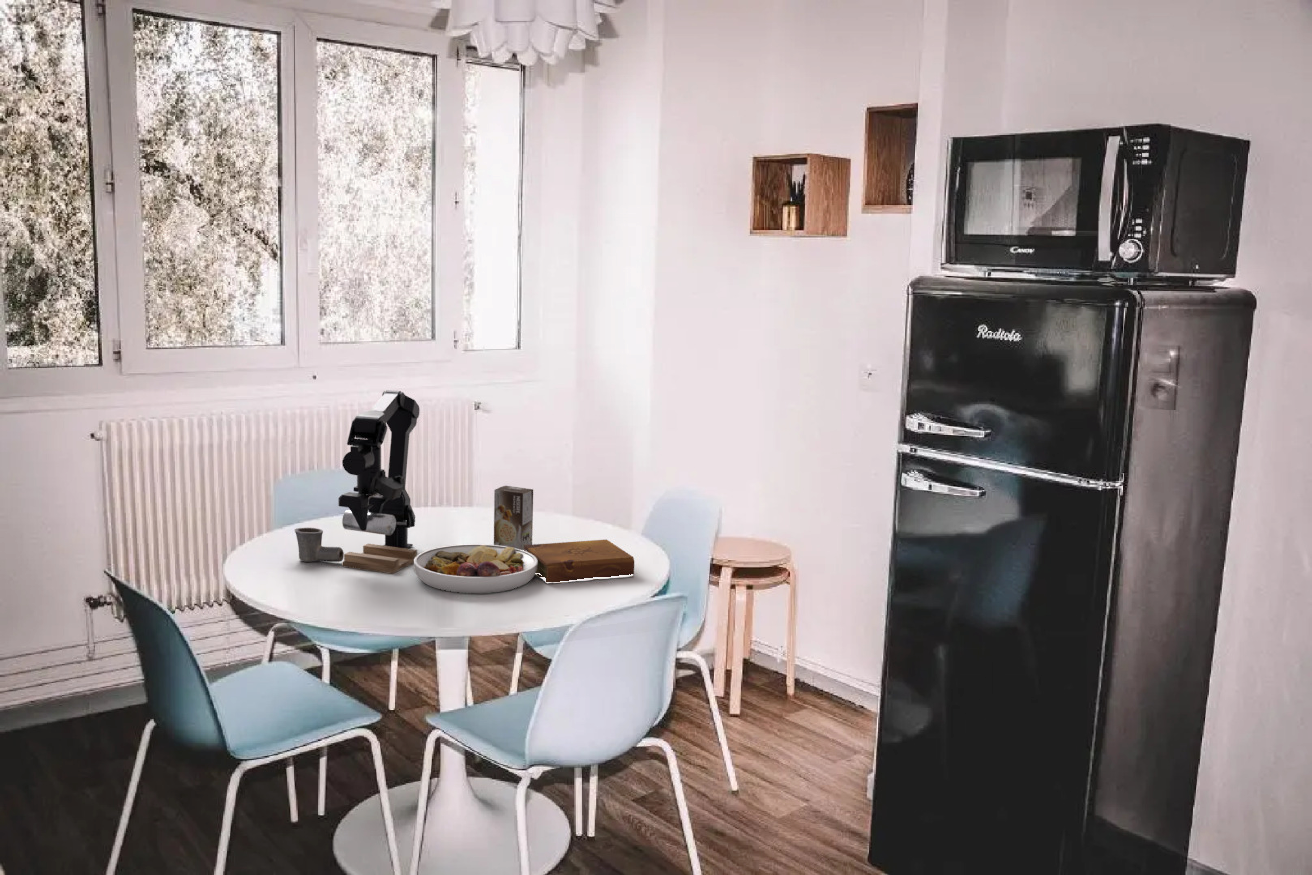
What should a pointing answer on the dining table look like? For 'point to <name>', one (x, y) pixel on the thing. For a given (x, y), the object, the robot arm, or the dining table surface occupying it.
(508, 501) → the coffee box
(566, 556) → the wooden box
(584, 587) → the dining table surface
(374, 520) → the silver cylinder
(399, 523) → the robot arm
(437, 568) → the bowl
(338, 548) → the pipe
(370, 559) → the v block
